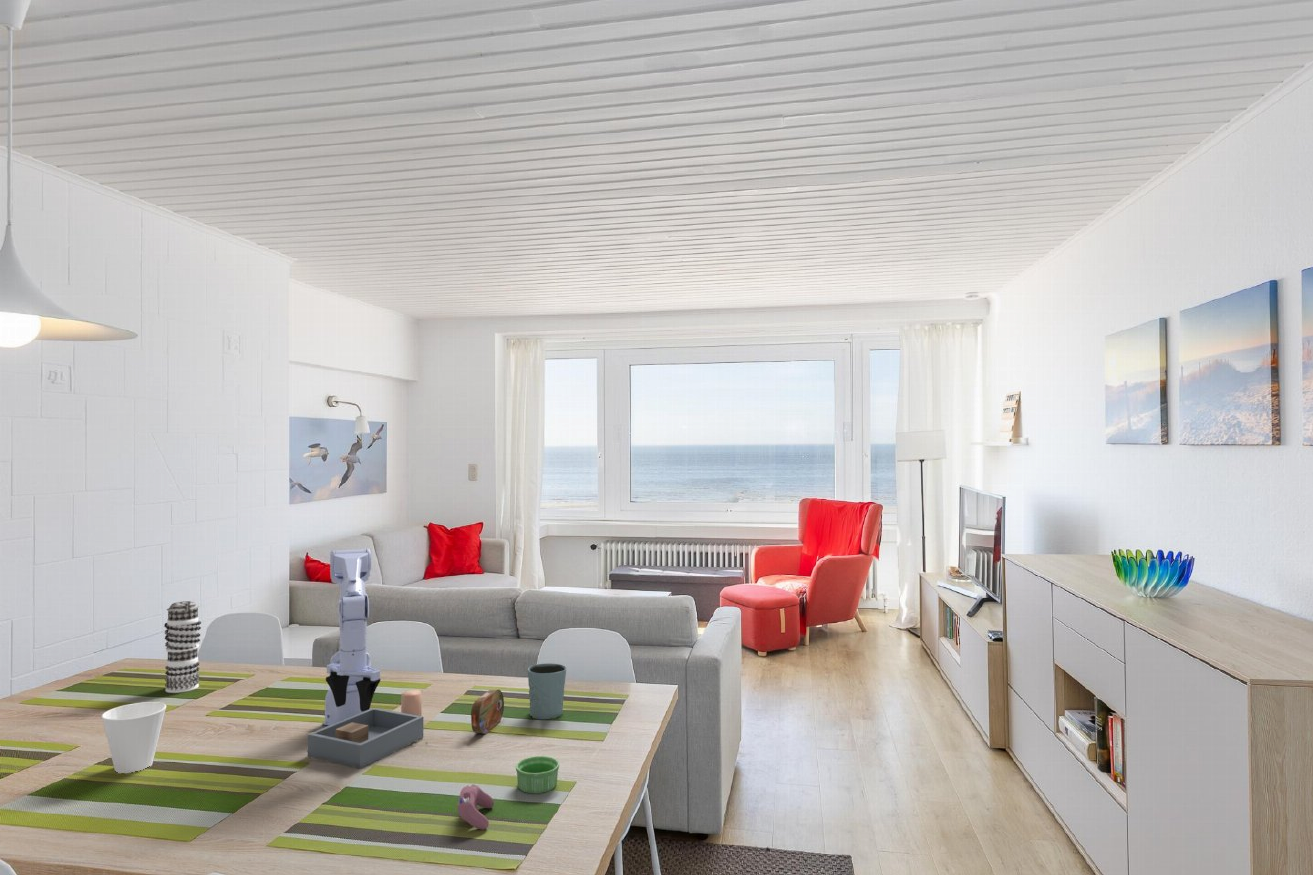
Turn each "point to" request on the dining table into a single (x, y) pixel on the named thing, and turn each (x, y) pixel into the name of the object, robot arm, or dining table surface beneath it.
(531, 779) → the ramekin
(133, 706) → the cup
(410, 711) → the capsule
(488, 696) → the tin
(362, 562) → the robot arm
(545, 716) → the grey plant pot
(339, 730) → the cube
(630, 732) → the dining table surface
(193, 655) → the decorative candle
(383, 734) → the tote
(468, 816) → the video game controller
